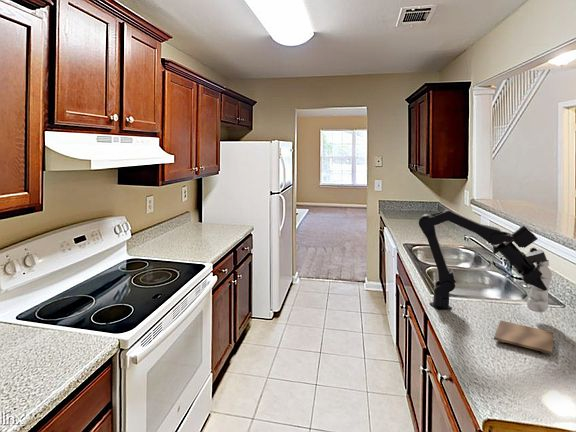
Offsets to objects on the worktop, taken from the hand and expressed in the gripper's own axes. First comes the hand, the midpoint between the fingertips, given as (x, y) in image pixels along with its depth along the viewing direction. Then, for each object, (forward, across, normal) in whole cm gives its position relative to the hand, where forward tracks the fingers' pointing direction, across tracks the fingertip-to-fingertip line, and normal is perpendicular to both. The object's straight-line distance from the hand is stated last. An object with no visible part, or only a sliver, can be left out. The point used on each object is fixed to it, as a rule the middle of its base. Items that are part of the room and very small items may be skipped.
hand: (544, 287), depth 141 cm
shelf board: (+3, -20, +16) cm, 26 cm away
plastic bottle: (+6, 0, +8) cm, 10 cm away
